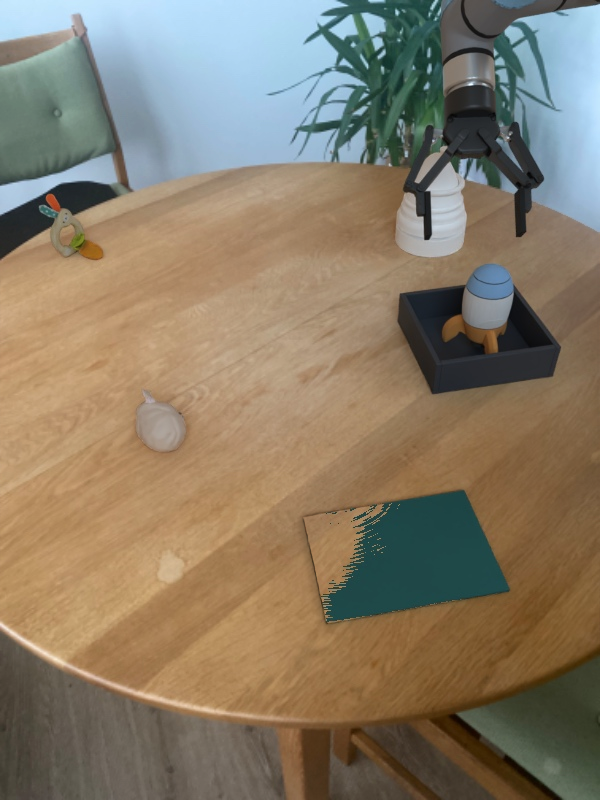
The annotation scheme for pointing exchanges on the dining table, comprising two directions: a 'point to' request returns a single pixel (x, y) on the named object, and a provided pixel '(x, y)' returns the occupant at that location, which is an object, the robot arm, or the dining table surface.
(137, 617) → the dining table surface
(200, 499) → the dining table surface
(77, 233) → the rattle
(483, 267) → the toy rocket
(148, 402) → the garlic bulb
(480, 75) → the robot arm
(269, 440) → the dining table surface
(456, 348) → the tub
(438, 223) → the honey pot
